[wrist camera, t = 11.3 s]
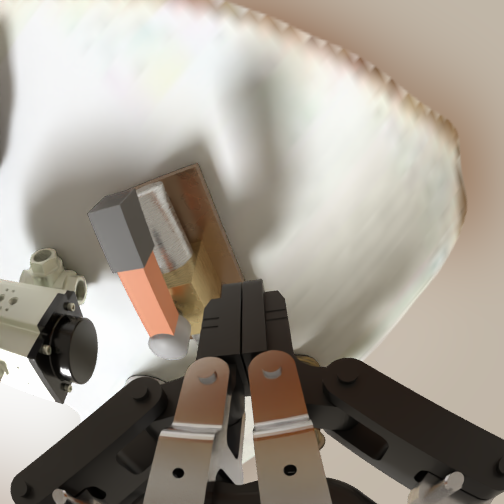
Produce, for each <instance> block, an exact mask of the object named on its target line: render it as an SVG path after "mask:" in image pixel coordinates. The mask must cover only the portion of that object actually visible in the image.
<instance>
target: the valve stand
mask: <svg viewBox="0 0 504 504" xmlns="http://www.w3.org/2000/svg"><path fill="white" fill-rule="evenodd" d="M134 188H135V190H136V193H137V196H138V199H139V202H140V205H141V208H142V211H143V214H144V217H145V219H146V222H147V225H148V228H149V231H150V234H151V236H152V239H153V242H154V245H155V247H154V249H153V252H154V255H155V258H156V260H157V263H158V265H159V268H160V270H161V273H162V275H163V278H164V280H165V283H166V285H167V288H168V290H169V292H170V295H171V297H172V300H173V302H174V304H175V307H176V309H177V311H178V313H179V315H181V316H183V317H184V318H186V319H187V320H188V321H189V323H190V325H191V334H190V339H194V340H195V342H196V343H197V345H198V344H199V338H200V331H201V325H202V321H203V313H204V308H205V307H206V305H207V304H208V303H209V301H210V300H211V299H217V298H221V294H222V285H223V284H230V283H238V282H242V283H243V282H245V280H244V277H243V275H242V272H241V270H240V268H239V265H238V263H237V260H236V258H235V255H234V253H233V250H232V248H231V245H230V243H229V240H228V238H227V235H226V233H225V230H224V228H223V225H222V223H221V220H220V218H219V215H218V213H217V210H216V208H215V205H214V203H213V200H212V198H211V195H210V192H209V190H208V187H207V185H206V182H205V180H204V177H203V175H202V172H201V169H200V167H199V164H198V163H195V164H193V165H190V166H187V167H184V168H182V169H179V170H176V171H174V172H171V173H168V174H166V175H163V176H160V177H158V178H155V179H153V180H150V181H148V182H145V183H143V184H140V185H138V186H136V187H133V188H131V189H134ZM131 189H128V190H131ZM126 191H127V190H126Z"/></svg>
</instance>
